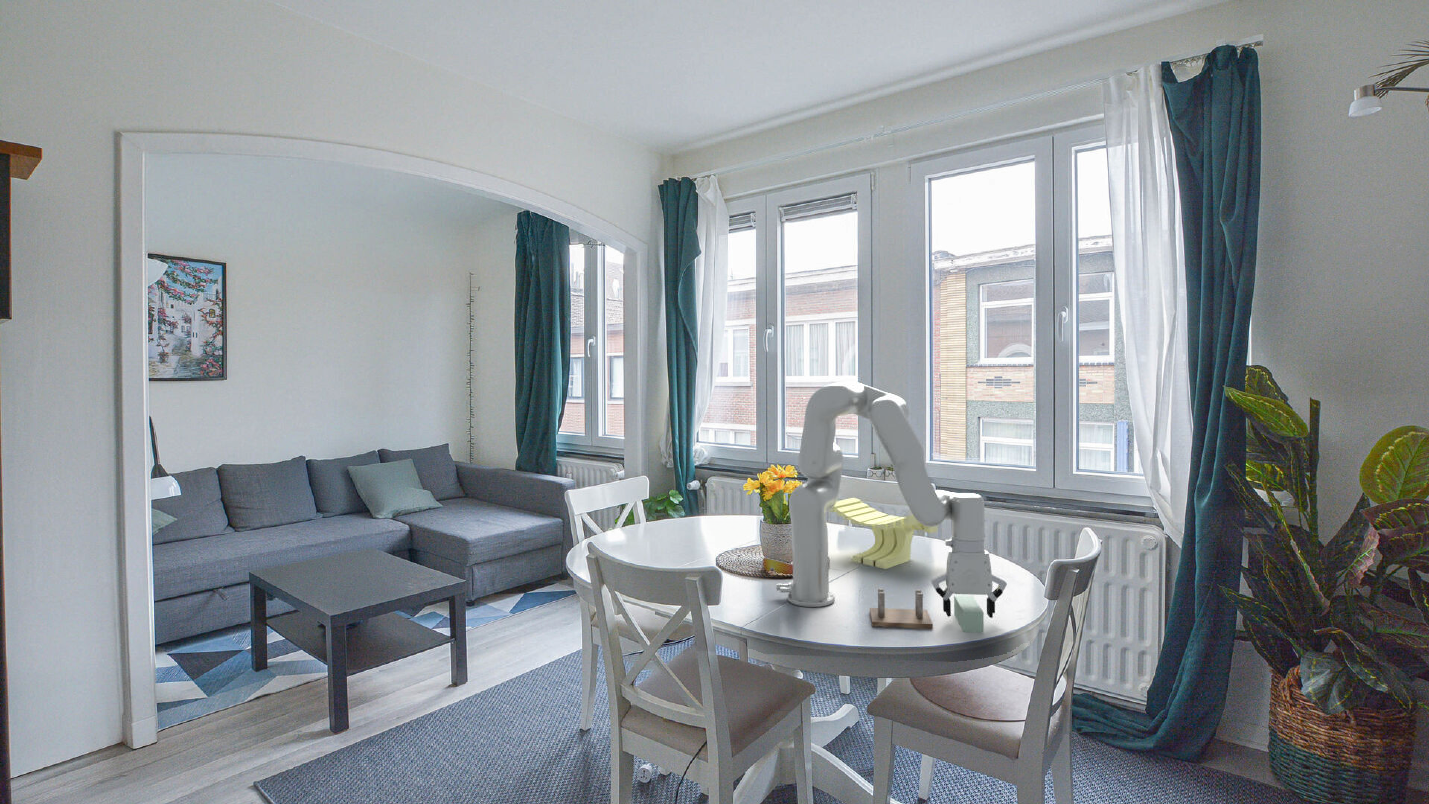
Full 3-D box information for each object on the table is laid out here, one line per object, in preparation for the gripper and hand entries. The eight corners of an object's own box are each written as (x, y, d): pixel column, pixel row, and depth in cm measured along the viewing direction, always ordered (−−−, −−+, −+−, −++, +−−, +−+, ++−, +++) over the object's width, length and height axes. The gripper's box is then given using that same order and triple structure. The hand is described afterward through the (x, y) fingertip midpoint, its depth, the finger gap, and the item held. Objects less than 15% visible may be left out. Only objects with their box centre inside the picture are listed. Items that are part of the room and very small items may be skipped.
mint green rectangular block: (963, 632, 166) (963, 611, 166) (954, 615, 178) (954, 595, 177) (983, 633, 165) (983, 612, 165) (972, 615, 177) (972, 595, 177)
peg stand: (872, 626, 170) (872, 597, 170) (869, 612, 180) (869, 584, 180) (932, 628, 168) (932, 599, 168) (926, 614, 178) (926, 586, 177)
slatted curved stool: (937, 564, 223) (937, 507, 222) (909, 574, 212) (908, 515, 211) (859, 547, 245) (858, 496, 244) (830, 556, 234) (829, 502, 234)
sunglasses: (753, 571, 219) (755, 555, 220) (784, 568, 230) (786, 552, 230) (789, 580, 209) (790, 563, 210) (820, 576, 220) (821, 560, 220)
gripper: (933, 548, 168) (934, 619, 169) (1009, 549, 165) (1010, 622, 166) (928, 541, 176) (929, 609, 176) (1002, 541, 173) (1002, 611, 174)
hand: (968, 615), depth 171 cm, fingers open, 9 cm apart
